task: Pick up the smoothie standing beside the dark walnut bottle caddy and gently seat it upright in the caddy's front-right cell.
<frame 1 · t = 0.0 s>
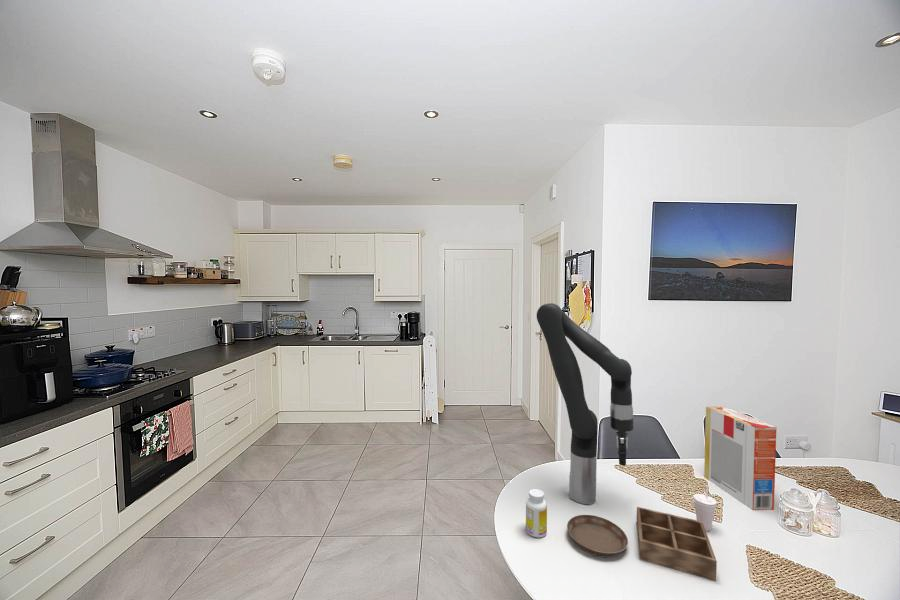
hand: (622, 459, 131), 17 cm above the table, tool pointing down, fingers open, 8 cm apart
supplement bottle: (536, 532, 117), on the table
plant saucer: (596, 541, 114), on the table
white and orange box: (736, 492, 141), on the table
smoothie: (704, 528, 120), on the table
bottle caddy: (671, 548, 110), on the table
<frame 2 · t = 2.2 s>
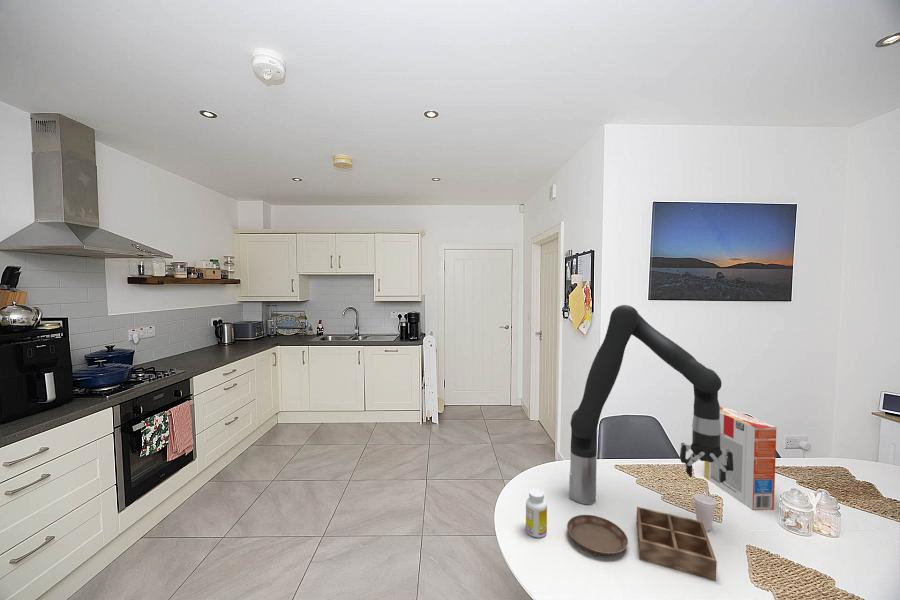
hand: (705, 478, 119), 16 cm above the table, tool pointing down, fingers open, 8 cm apart
nothing on the table moved.
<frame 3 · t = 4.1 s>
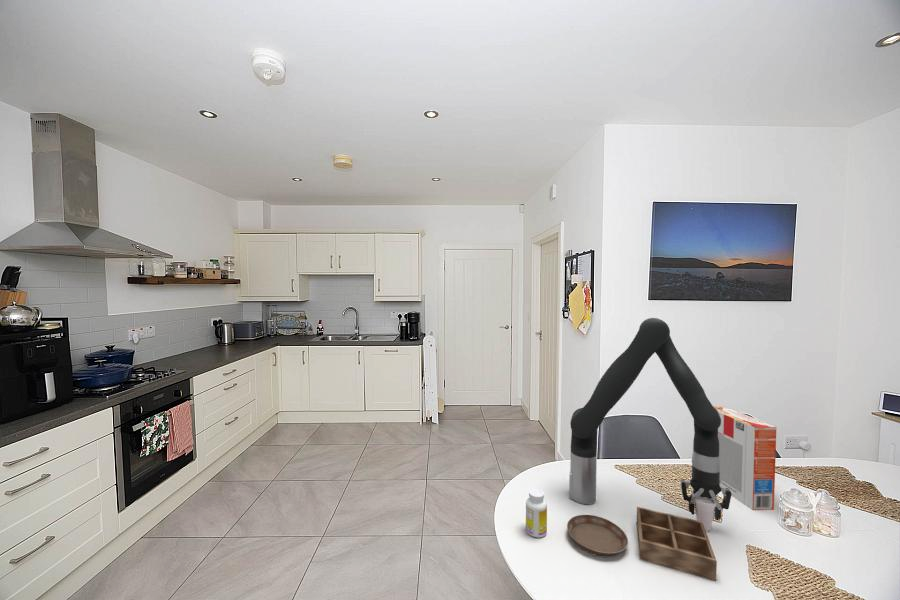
hand: (704, 515, 120), 4 cm above the table, tool pointing down, fingers closed on smoothie, 6 cm apart
smoothie: (704, 528, 120), on the table, touching gripper
everything else where it was.
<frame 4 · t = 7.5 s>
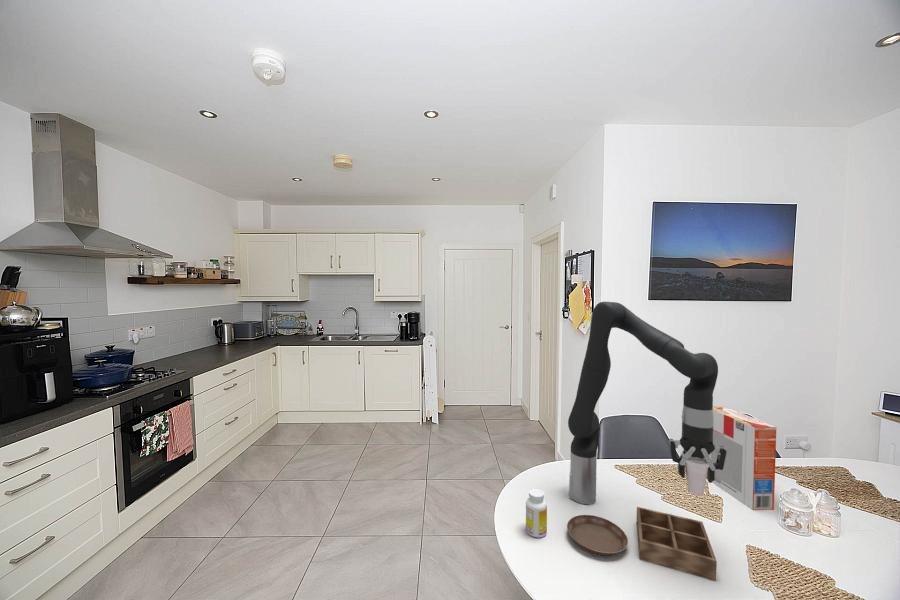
hand: (696, 478, 106), 24 cm above the table, tool pointing down, fingers closed on smoothie, 6 cm apart
smoothie: (695, 492, 106), point 19 cm above the table, touching gripper
everything else where it was.
when the fingers open (6 cm above the table, at t = 10.7 s): smoothie drops 2 cm, resting on bottle caddy.
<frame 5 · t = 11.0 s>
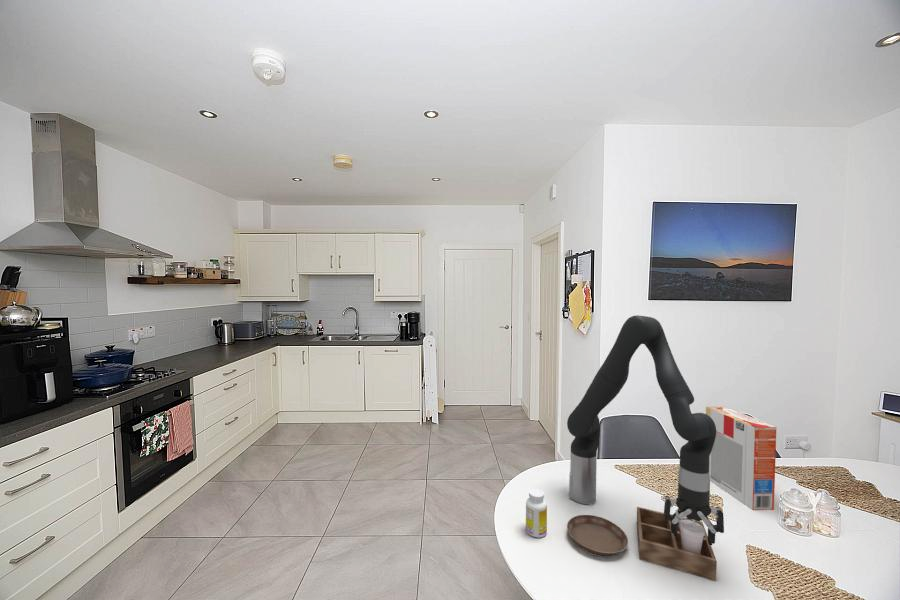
hand: (692, 539, 104), 7 cm above the table, tool pointing down, fingers open, 8 cm apart
smoothie: (690, 559, 104), point 1 cm above the table, touching bottle caddy
everything else where it was.
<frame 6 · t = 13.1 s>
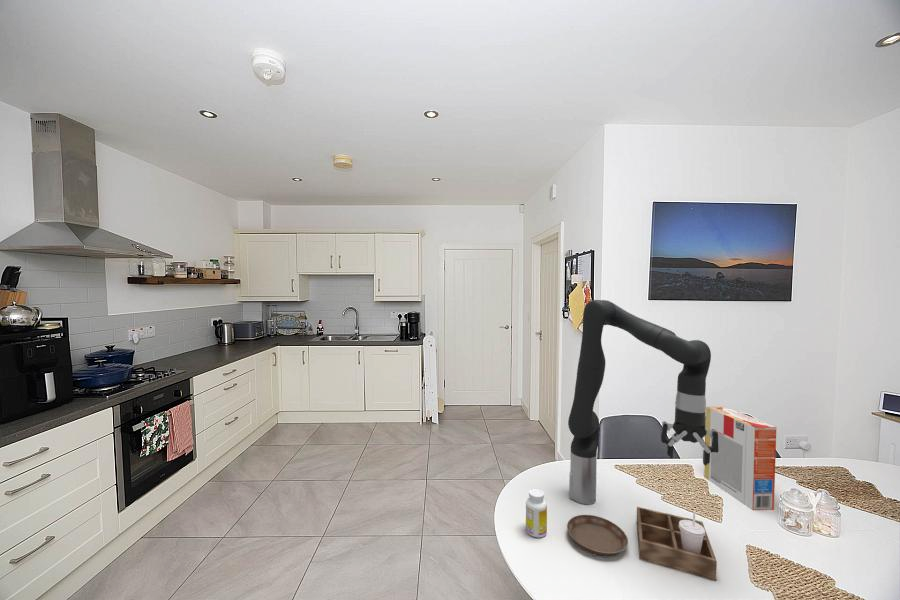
hand: (687, 460, 108), 28 cm above the table, tool pointing down, fingers open, 8 cm apart
nothing on the table moved.
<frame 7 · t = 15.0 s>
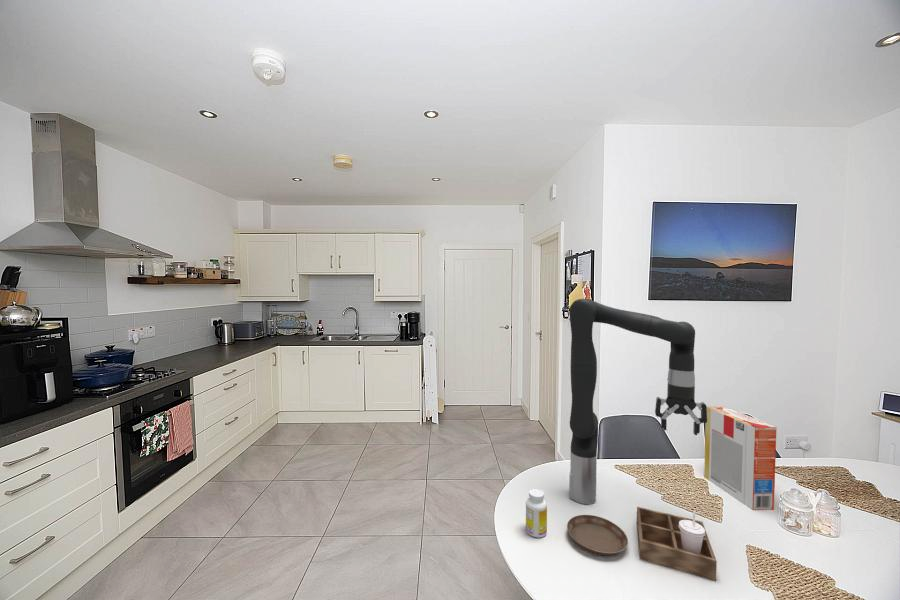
hand: (679, 431, 119), 32 cm above the table, tool pointing down, fingers open, 8 cm apart
nothing on the table moved.
at the end: smoothie 0.2 cm from the target spot on the bottle caddy, point 0.8 cm above the bottle caddy's base; smoothie tilted 0°; the gripper is holding nothing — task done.
